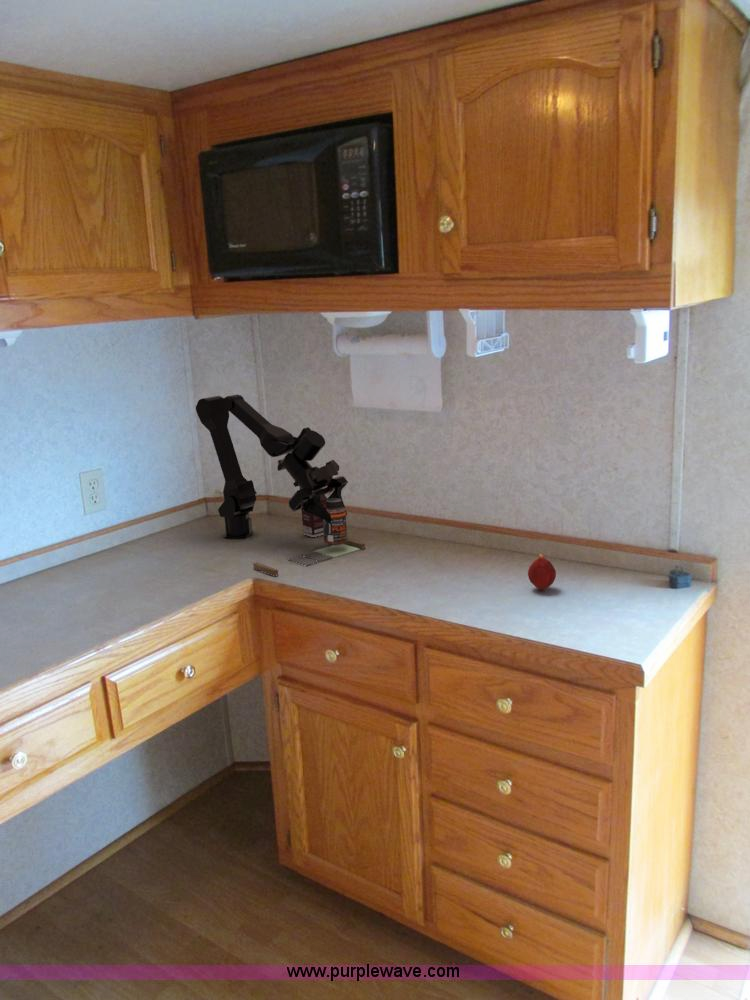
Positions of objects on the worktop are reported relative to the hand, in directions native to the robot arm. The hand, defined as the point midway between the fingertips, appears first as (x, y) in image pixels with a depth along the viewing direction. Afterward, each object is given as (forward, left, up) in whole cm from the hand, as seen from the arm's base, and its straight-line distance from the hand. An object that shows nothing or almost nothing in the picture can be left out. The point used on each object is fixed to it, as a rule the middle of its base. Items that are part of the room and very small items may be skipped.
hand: (338, 518), depth 210 cm
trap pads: (-6, -6, -9) cm, 12 cm away
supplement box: (-10, +16, -9) cm, 21 cm away
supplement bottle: (-1, +1, -7) cm, 7 cm away
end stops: (-6, -6, -9) cm, 12 cm away
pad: (-1, 0, -9) cm, 9 cm away
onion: (+50, -27, -9) cm, 58 cm away
